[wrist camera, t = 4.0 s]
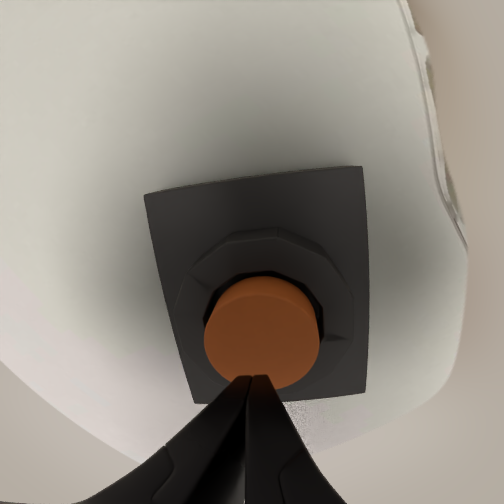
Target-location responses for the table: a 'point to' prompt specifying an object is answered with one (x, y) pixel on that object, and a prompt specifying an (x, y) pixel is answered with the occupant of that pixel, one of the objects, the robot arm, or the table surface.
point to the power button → (263, 331)
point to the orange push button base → (269, 265)
